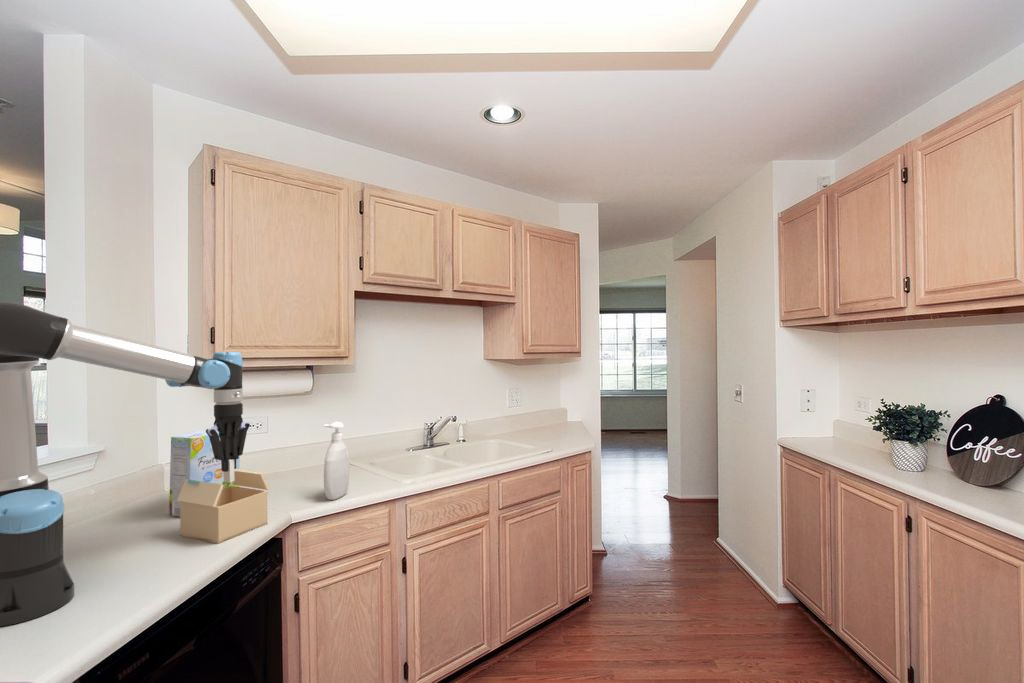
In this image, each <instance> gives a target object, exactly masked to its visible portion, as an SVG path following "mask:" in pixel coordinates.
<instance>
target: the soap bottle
mask: <svg viewBox="0 0 1024 683" xmlns="http://www.w3.org/2000/svg"><path fill="white" fill-rule="evenodd" d="M323 426H324V428H330V429H335V430H334V432H332V434H331V441H330V444H329V446H328V448H327V450H326V455H325V458H324V465H323V490H324V494H325V496H326V499H327V500H330V501H333V500H334V501H336V500H337V499H340V498H341V497H343V496H345V495H346V494H347V493H348V491H349V490H348V489H349V484H350V483H349V482H350V468H351V466H350V463H351V462H350V455H349V454H350V453H349V451H348V448H347V445H346V444H345V442H344V441H343V433H342V432H341V431H340V430H339V429H341V428H344V427H345V426H344V424H343V422H340V421H334V422H332V423H331V424H330V423H329V424H324V425H323ZM339 431H340V432H339Z"/></svg>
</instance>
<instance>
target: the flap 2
mask: <svg viewBox="0 0 1024 683" xmlns="http://www.w3.org/2000/svg"><path fill="white" fill-rule="evenodd" d="M232 483H233V485H238V486H239V487H244V488H250V489H257V490H264V491H268V490H269V489H270V487H269V484H268V482H267V480H266V478H265V475H264V472H260V471H255V470H245V469H240V468H239V469H234V481H233V482H232Z"/></svg>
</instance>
